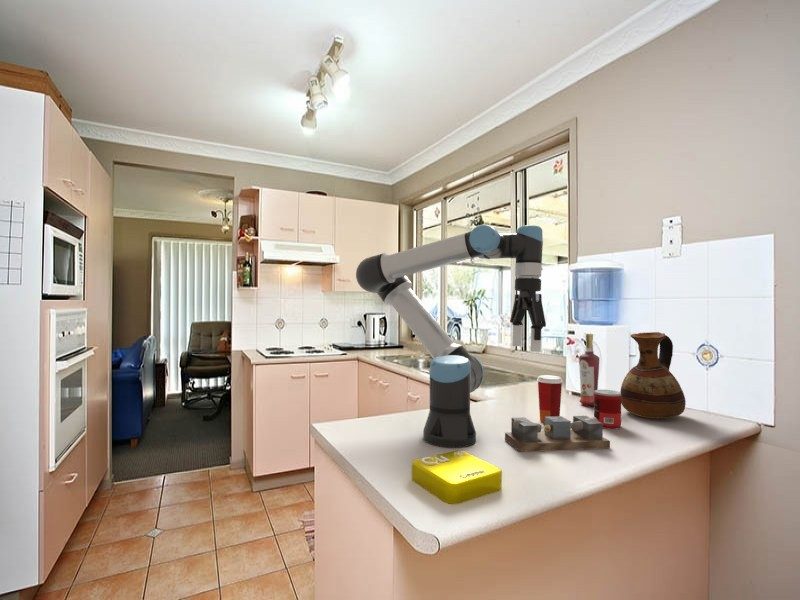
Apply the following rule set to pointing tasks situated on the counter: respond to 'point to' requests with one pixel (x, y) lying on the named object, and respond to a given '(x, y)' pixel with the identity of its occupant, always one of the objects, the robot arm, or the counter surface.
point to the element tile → (456, 476)
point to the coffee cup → (549, 396)
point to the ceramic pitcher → (652, 380)
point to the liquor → (588, 373)
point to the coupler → (557, 428)
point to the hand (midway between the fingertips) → (525, 348)
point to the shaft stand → (533, 439)
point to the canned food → (608, 408)
